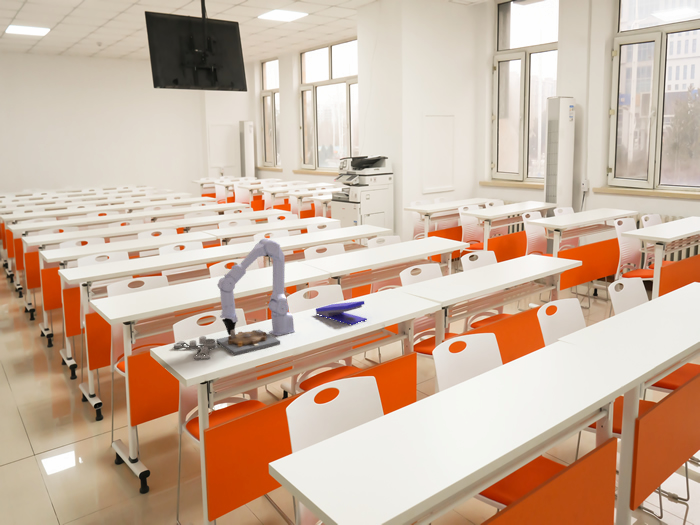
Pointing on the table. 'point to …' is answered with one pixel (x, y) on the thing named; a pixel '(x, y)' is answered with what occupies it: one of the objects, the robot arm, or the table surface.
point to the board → (248, 348)
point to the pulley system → (207, 345)
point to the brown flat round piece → (246, 337)
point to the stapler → (341, 312)
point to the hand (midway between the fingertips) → (231, 334)
